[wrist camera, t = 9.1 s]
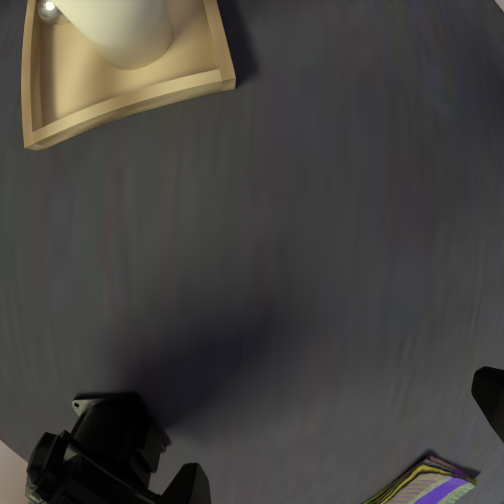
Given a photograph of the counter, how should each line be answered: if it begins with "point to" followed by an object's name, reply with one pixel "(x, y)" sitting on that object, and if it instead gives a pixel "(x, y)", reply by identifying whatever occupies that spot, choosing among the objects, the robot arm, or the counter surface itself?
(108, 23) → the ball
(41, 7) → the ball
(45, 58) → the tray
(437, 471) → the dish towel
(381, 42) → the counter surface
